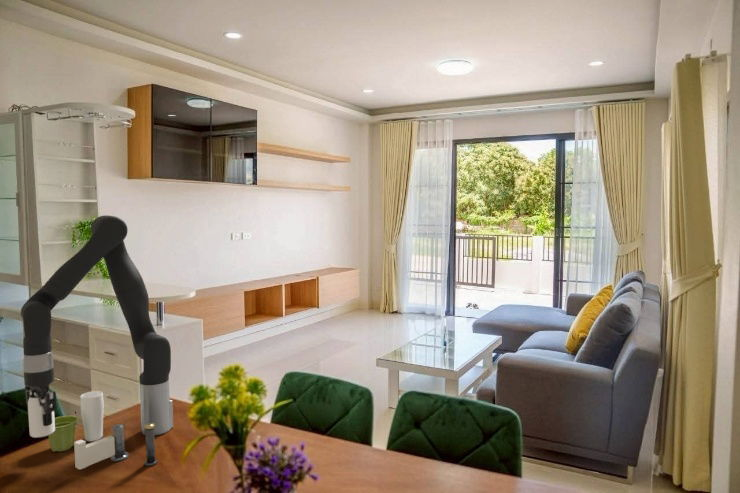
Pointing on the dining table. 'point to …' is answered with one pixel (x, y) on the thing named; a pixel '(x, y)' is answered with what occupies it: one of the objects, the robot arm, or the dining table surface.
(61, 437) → the plant pot
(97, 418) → the white tapered cup
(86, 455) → the gate
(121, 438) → the hinge post
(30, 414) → the can
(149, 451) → the post
